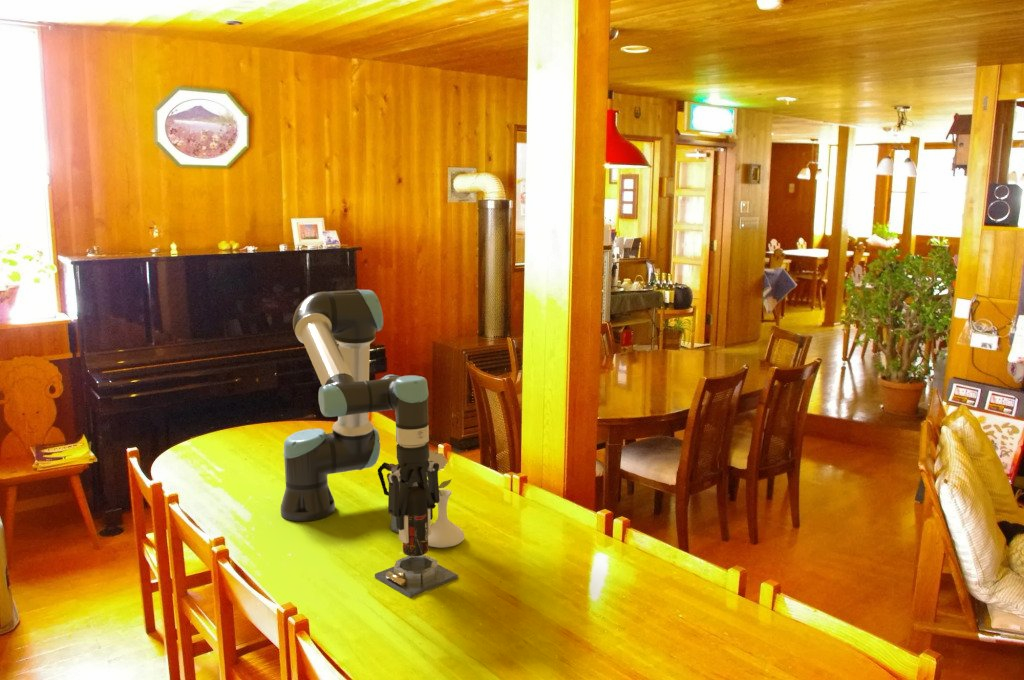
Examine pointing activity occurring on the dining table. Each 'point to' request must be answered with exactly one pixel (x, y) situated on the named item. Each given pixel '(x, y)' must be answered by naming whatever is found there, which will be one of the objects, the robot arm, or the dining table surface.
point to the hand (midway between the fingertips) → (415, 537)
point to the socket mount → (415, 575)
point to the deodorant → (417, 522)
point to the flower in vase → (443, 513)
